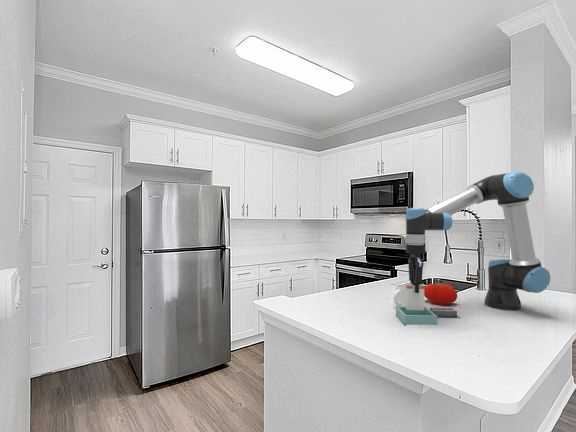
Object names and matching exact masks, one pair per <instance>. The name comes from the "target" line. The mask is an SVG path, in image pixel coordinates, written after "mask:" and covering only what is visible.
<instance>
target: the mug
mask: <svg viewBox="0 0 576 432" xmlns="http://www.w3.org/2000/svg"><path fill="white" fill-rule="evenodd" d="M393 303H394V305H396V306H395V307H406V284H404V283H402V284H396V286H395V292H394V294H393Z"/></svg>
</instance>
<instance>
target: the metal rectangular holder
mask: <svg viewBox="0 0 576 432" xmlns="http://www.w3.org/2000/svg"><path fill="white" fill-rule="evenodd" d="M429 310H430V311H431V312H433V313H434V314H435V315H436V316H437V319H461V316H459V315H458V311H457V309H454V308H439V307H435V308H434V307H430V308H429Z"/></svg>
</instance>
